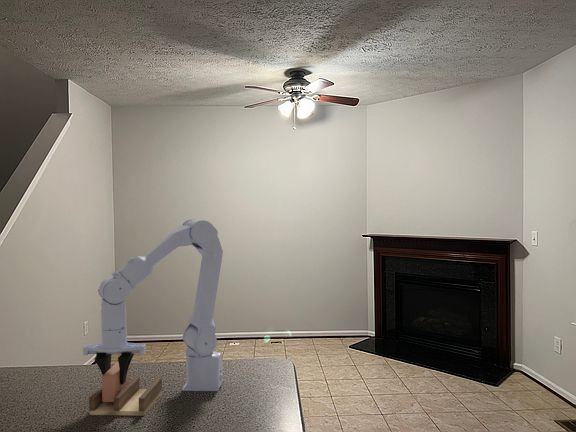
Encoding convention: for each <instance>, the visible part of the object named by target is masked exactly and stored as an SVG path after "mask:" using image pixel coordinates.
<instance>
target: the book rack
mask: <svg viewBox="0 0 576 432" xmlns="http://www.w3.org/2000/svg"><path fill="white" fill-rule="evenodd" d="M162 379H163V378H162V377H156V378H155V379H154V381H153V382H152V383H151V384H150V385H149V386H148V387H147V388H141V387H140V386H141V385H140V376H139V377H136V376H135V377H133V379H132V380H131V381H129V384H128V385H127V386H126V387H124V388H123V389H122V390H121V391H120V392H119V393H118V394H117V395H116V396H115V397H114V402H102V386H101V387H99V388H98V389H97V390H96V391H95V392H93V394H92V395H90V396H89V398H88V401H89V403H88V404H89V405H88V406H89V416H135V417H136V416H142V417H143V416H146V414H147V413H148V412H149V410H150V409H151V408H152V407H153V405H154V404H155V403H156V402H157V401H158V398H159V397H160V396H161V395H162V394H163V380H162Z"/></svg>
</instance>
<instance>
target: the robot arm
mask: <svg viewBox="0 0 576 432" xmlns="http://www.w3.org/2000/svg"><path fill="white" fill-rule="evenodd" d="M218 233H219V232H218V229H217V228H216V227H215V226H214V225H213V224H212V223H211V222H210V221H208V220H205V219H201V220H199V219H193V218H192V219H187V220H185V221H184V222H183V223H182V224H180V225H178V226H177V227H175V228H174V229H173V230H172V231H171V232H170V233H169V234H168V235H166V236H165V237H164V238H163V239H162V240H161V241H160V242H159V243H157V244H156V245H155V246H154V247H152V249H151V250H149V252H147V253H146V254H145V255H144V256H142V255H137V256H134V257H132V256H131V257H130V258H128V259H127V263H126V264H125V265H123V266H122V267H121V268H120V269H119V270H118V271H113V272H112V273H111V275H112V276H110V277H107V278H105V279H104V280H102V281H101V283H100V285H99V287H98V290H97V292H98V295H99V296H100V298H101V305H100V306H101V309H100V321H101V322H100V323H101V343H95V344H85V345H84V346H83V347H82V354H83V356H88V355H95V357H94V362H95V364H96V365H97V366H98V368H99V370H100V372H101V375H102V376H103V375H104V374H105V373H106V372H107V371H108V370H109V369H110V368H111V367H112V364H111V363H112V355H119V356H118V357H117V361H118V362H117V363H119V368H120V385H123V384H124V383H125V382H126V376H127V371H128V368H130V365H131V362H132V360H133V357H134V356H135V354H139V355H144V354H146V351H147V345H146V343H135V342H128V329H127V328H128V327H127V325H128V324H127V307H126V305H127V304H126V300H127V298H128V297H129V295H130V291H133V290H134V289H135V288H136V287H138V286H139V285H140V284H141V283H142V282H143V281H144V280H146V279H147V278H148V277H149V276H150V275H151V274H153V268H154V266H155V265H156V264H158V263H159V262H161V260H163V259H164V258H166V257H167V256H168V255H169V254H171V253H172V252H173V251H175V250H176V249H177V248H179V247H188V246H193V247H194V248H195V250H197V252H198V253H199V255H201V262H200V269H199V274H198V280H197V287H196V288H197V289H196V293H195V301H194V307H193V313H192V315H191V316H190V317H189V319H188V323H187V326H186V328H185V329H184V330H183V333H182V340H183V342H184V344H185V345H186V347H187V348H186V350H185V365H186V369H185V370H186V371H185V372H186V382H185V384H184V385H183V387H182V389H181V390H182V391H183V392H188V391H189V392H219V390H220V389H221V386H222V384H223V382H224V364H223V363H224V361H223V353H222V352H218V351H215V349H216V347H217V345H218V340H217V339H218V338H217V336H216V328H217V327H216V324H215V321H214V311H215V306H216V301H217V293H218V287H219V280H220V274H221V266H222V262H223V261H222V259H223V256H224V255H223V254H224V253H223V252H224V250H223V248H222V245H221V242H220V238H219V236H218V235H219V234H218ZM120 354H121V355H120Z"/></svg>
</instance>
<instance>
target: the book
mask: <svg viewBox="0 0 576 432" xmlns="http://www.w3.org/2000/svg"><path fill="white" fill-rule="evenodd" d="M129 368H130V367H129ZM129 368H128V371H127V376H126V382H125V383H124V384H123V385H120V368H119V362H115V363H114V364H113V366H112V365H111V368H110V369H109V370H108V371H107V372H106V373H105V374H104V375H102V376H101V387H102V402H114V397H115V396H116V395H117V394H118V393H119V392H120V391H121V390H122V389H123V388H124V387H126V386H127V385H128V384H129V383H130V381H129V380H130V375H129V372H130V371H129Z"/></svg>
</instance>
